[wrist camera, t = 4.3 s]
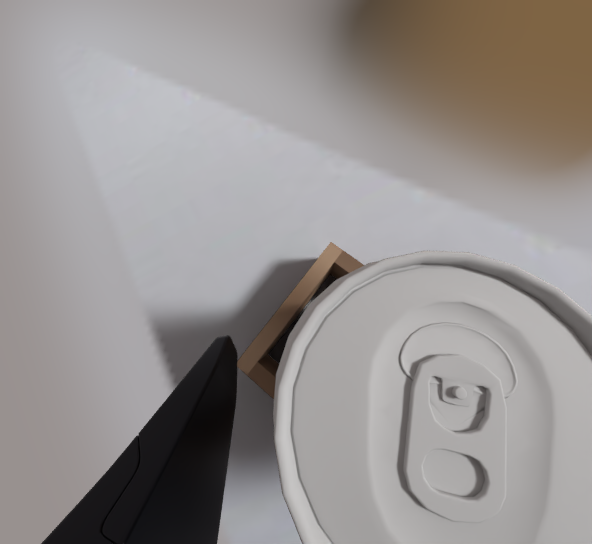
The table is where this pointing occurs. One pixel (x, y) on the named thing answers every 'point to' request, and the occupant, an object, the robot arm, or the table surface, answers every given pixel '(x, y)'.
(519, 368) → the beverage can
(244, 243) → the table surface
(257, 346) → the wooden frame
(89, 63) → the table surface
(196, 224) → the table surface
